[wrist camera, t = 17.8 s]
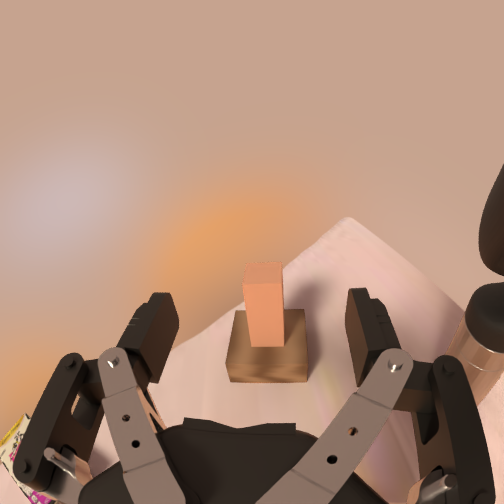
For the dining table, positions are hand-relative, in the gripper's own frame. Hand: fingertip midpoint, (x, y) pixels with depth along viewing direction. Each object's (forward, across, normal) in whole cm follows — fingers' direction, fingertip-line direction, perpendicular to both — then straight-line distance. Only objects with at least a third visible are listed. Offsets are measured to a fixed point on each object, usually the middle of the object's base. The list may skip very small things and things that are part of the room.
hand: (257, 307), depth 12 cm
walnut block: (+22, +2, +30) cm, 37 cm away
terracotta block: (+22, +2, +25) cm, 33 cm away
